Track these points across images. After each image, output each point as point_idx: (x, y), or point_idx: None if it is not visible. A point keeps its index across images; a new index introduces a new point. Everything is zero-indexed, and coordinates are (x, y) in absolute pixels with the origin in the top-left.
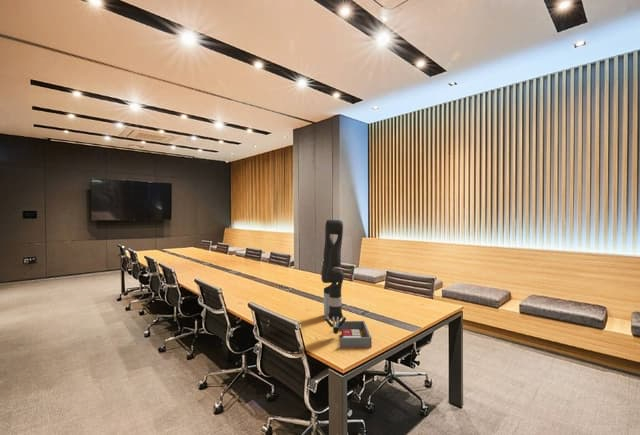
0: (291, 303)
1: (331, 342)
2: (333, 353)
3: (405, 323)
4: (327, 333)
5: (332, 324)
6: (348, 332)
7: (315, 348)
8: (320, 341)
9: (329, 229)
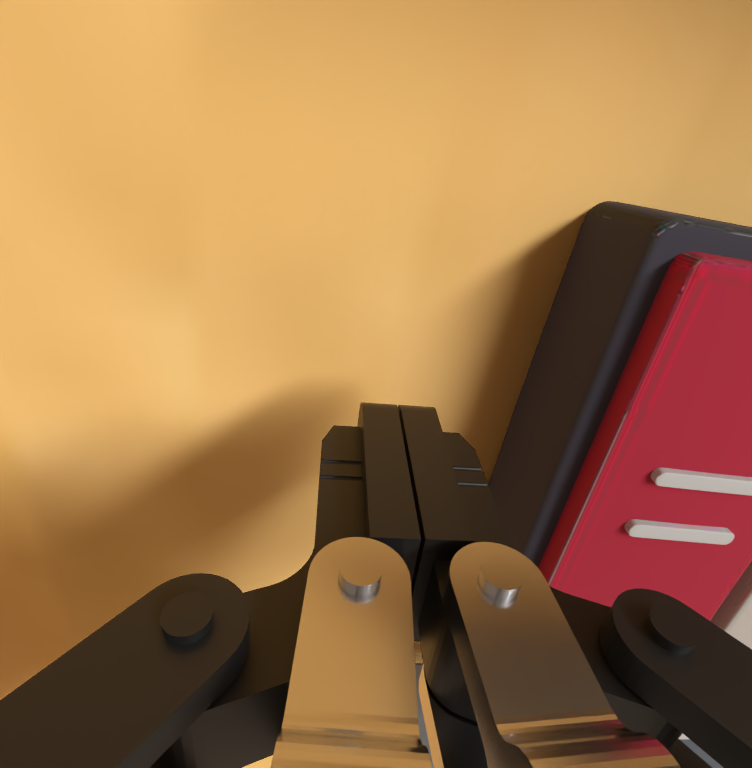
0: None
1: (266, 552)
2: (270, 761)
3: None
4: (174, 52)
5: (264, 734)
6: (716, 543)
7: (9, 680)
8: (42, 504)
9: None
